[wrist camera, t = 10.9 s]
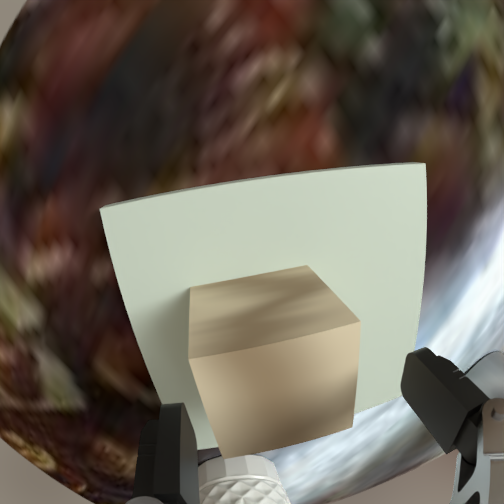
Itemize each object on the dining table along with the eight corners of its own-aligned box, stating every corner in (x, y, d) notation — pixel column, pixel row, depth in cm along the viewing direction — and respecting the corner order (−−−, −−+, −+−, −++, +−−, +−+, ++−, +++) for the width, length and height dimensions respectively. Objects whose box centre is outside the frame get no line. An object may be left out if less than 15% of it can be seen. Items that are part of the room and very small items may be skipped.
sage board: (414, 162, 15) (425, 163, 14) (398, 386, 20) (404, 394, 19) (105, 205, 13) (99, 208, 12) (184, 440, 18) (184, 451, 17)
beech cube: (307, 264, 15) (360, 321, 10) (312, 357, 16) (352, 427, 11) (190, 286, 14) (188, 359, 9) (213, 378, 16) (223, 458, 11)
